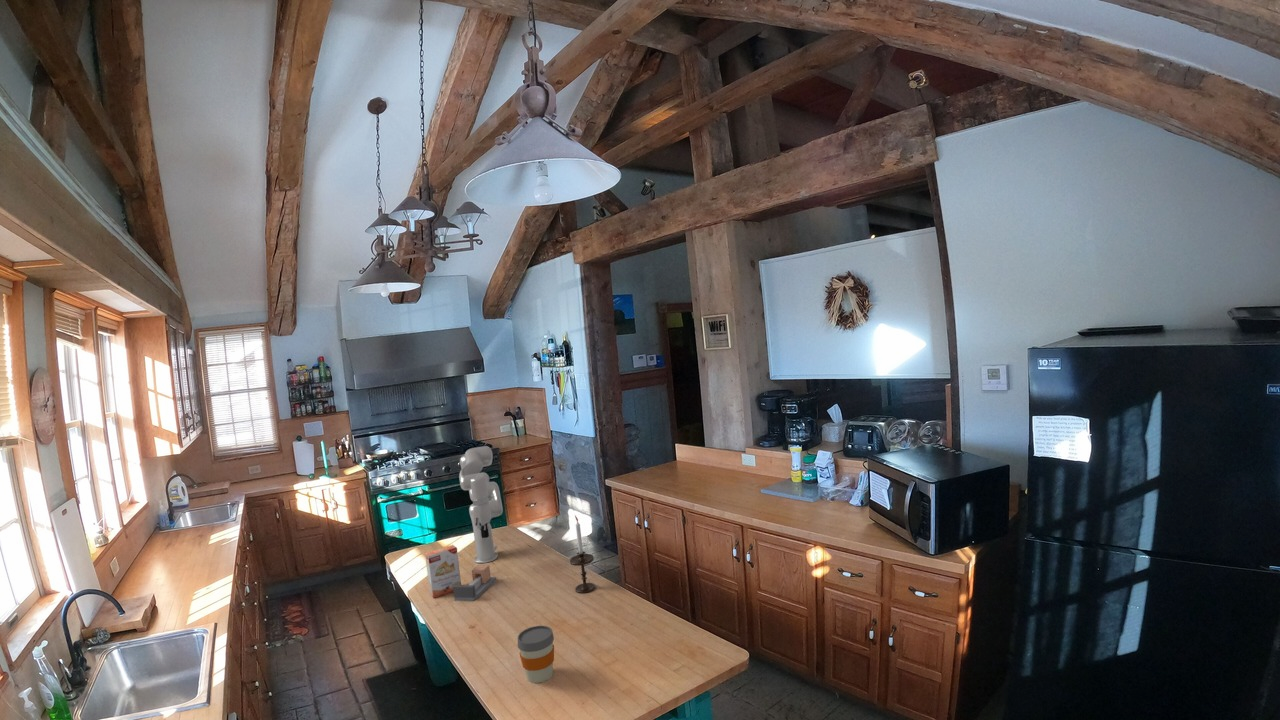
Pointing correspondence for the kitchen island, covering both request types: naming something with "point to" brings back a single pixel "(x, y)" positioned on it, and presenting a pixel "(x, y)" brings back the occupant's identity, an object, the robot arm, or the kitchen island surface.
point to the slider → (482, 570)
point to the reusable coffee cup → (537, 653)
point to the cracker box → (442, 570)
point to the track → (479, 590)
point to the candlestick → (582, 564)
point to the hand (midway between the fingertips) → (485, 537)
